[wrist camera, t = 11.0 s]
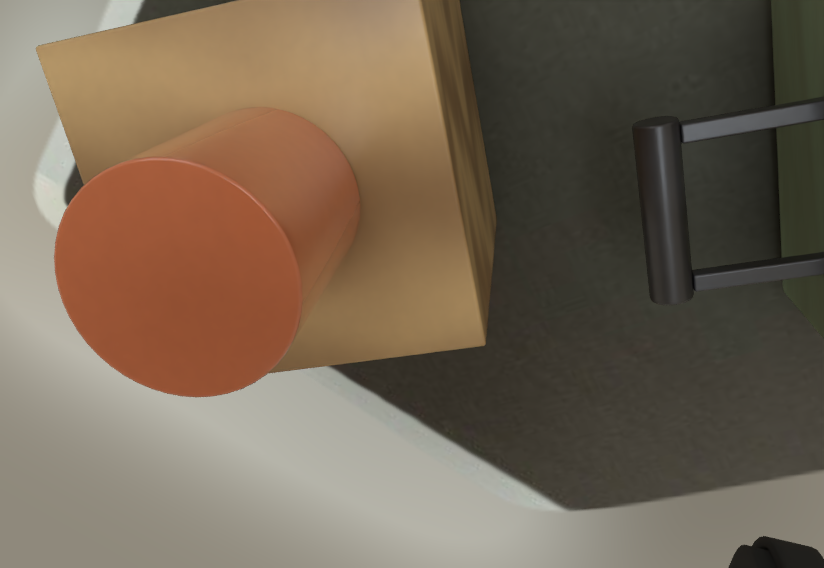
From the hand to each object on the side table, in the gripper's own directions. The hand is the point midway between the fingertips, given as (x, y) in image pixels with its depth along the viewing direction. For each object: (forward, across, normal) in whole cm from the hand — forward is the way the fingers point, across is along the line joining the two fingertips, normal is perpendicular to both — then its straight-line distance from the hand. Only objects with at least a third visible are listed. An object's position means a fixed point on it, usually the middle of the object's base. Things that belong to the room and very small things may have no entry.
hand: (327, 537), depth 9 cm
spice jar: (+12, +4, 0) cm, 13 cm away
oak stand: (+24, +4, 0) cm, 24 cm away
